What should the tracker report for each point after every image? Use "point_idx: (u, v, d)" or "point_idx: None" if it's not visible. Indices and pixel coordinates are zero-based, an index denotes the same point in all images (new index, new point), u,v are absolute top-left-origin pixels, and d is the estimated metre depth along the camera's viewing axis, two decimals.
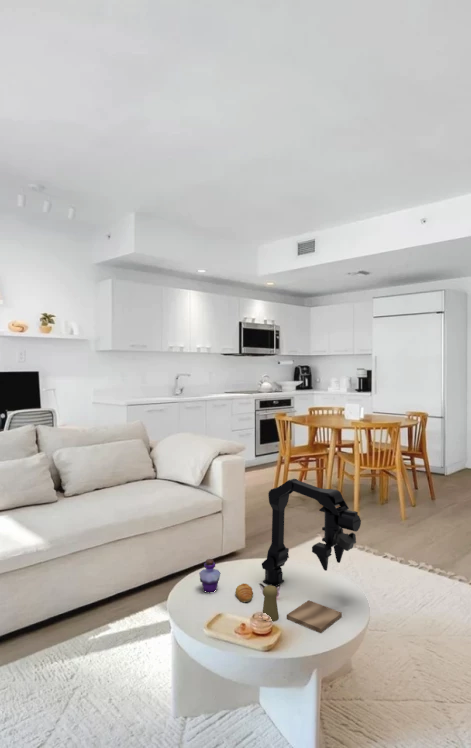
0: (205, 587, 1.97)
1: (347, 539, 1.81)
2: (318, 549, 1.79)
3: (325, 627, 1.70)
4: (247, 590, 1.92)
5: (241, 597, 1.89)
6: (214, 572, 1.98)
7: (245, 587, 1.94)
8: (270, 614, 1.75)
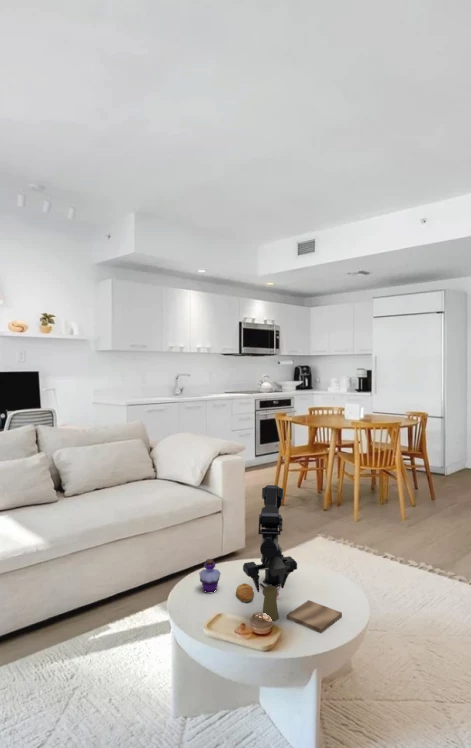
0: (205, 587, 1.97)
1: (276, 564, 1.71)
2: (245, 568, 1.74)
3: (325, 627, 1.70)
4: (248, 590, 1.92)
5: (242, 597, 1.89)
6: (214, 572, 1.98)
7: (246, 587, 1.94)
8: (270, 614, 1.75)
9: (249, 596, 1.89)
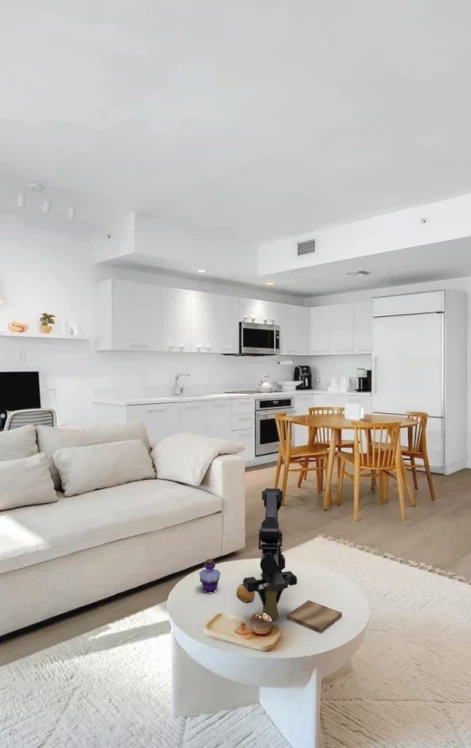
0: (205, 587, 1.97)
1: (276, 579, 1.71)
2: (245, 583, 1.74)
3: (325, 627, 1.70)
4: None
5: (243, 597, 1.89)
6: (214, 572, 1.98)
7: None
8: (270, 614, 1.75)
9: (250, 596, 1.89)
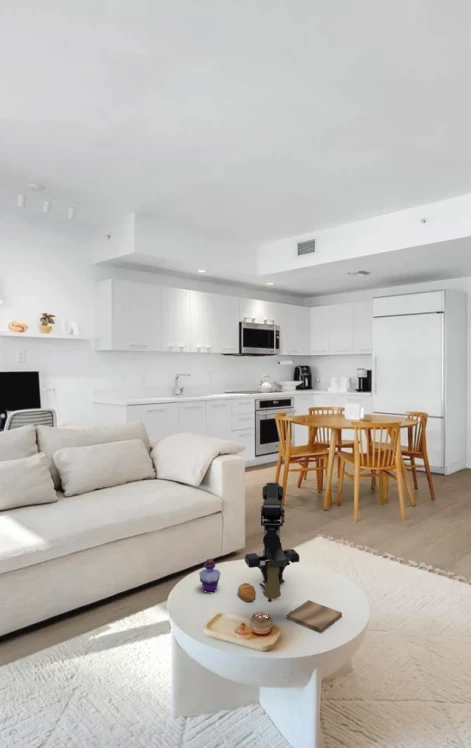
0: (205, 587, 1.97)
1: (277, 556, 1.71)
2: (246, 559, 1.75)
3: (325, 627, 1.70)
4: (250, 589, 1.93)
5: (244, 596, 1.90)
6: (214, 572, 1.98)
7: (247, 586, 1.94)
8: (271, 591, 1.75)
9: (251, 595, 1.90)
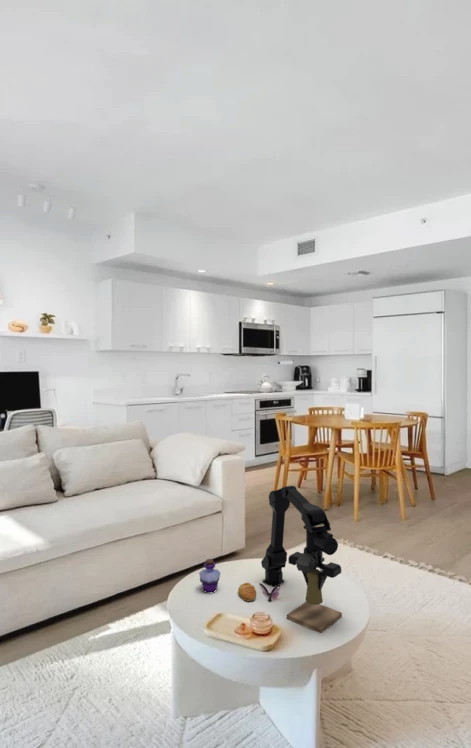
0: (205, 587, 1.97)
1: (302, 560, 1.72)
2: None
3: (325, 627, 1.70)
4: (250, 589, 1.93)
5: (245, 596, 1.90)
6: (214, 572, 1.98)
7: (248, 586, 1.94)
8: (307, 595, 1.76)
9: (252, 595, 1.90)
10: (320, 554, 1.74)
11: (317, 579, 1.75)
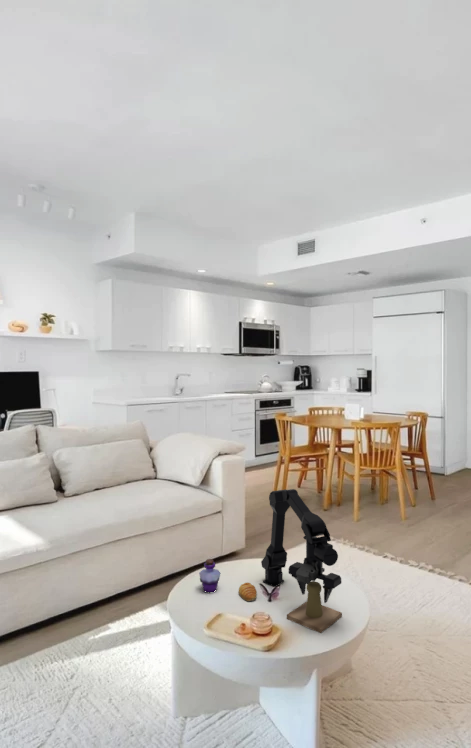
0: (205, 587, 1.97)
1: (302, 571, 1.72)
2: None
3: (325, 627, 1.70)
4: (251, 589, 1.93)
5: (246, 596, 1.90)
6: (214, 572, 1.98)
7: (248, 586, 1.95)
8: (307, 608, 1.76)
9: (253, 595, 1.90)
10: (320, 565, 1.75)
11: (317, 592, 1.75)
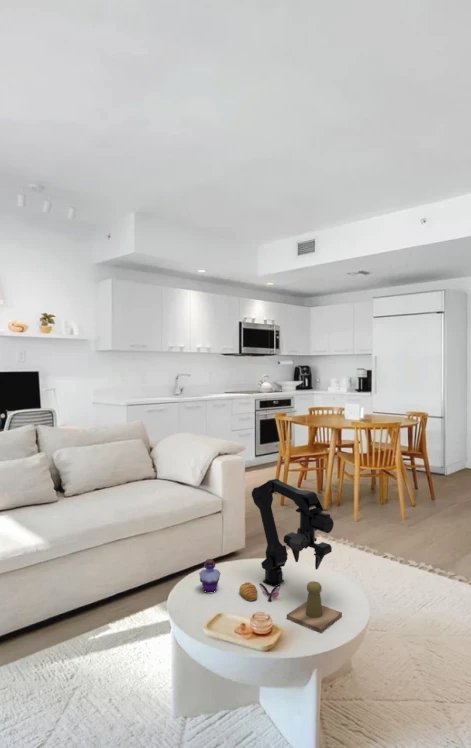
0: (205, 587, 1.97)
1: (296, 539, 1.87)
2: None
3: (325, 627, 1.70)
4: (252, 589, 1.93)
5: (247, 596, 1.90)
6: (214, 572, 1.98)
7: (249, 586, 1.95)
8: (307, 608, 1.76)
9: (254, 595, 1.90)
10: (312, 534, 1.89)
11: (317, 592, 1.75)
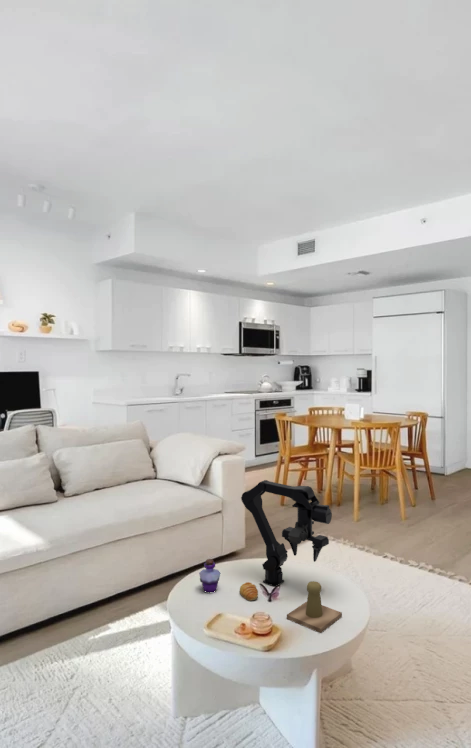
0: (205, 587, 1.97)
1: (294, 532, 1.92)
2: None
3: (325, 627, 1.70)
4: (252, 588, 1.93)
5: (248, 596, 1.90)
6: (214, 572, 1.98)
7: (250, 586, 1.95)
8: (307, 608, 1.76)
9: (255, 594, 1.91)
10: (310, 527, 1.95)
11: (317, 592, 1.75)
